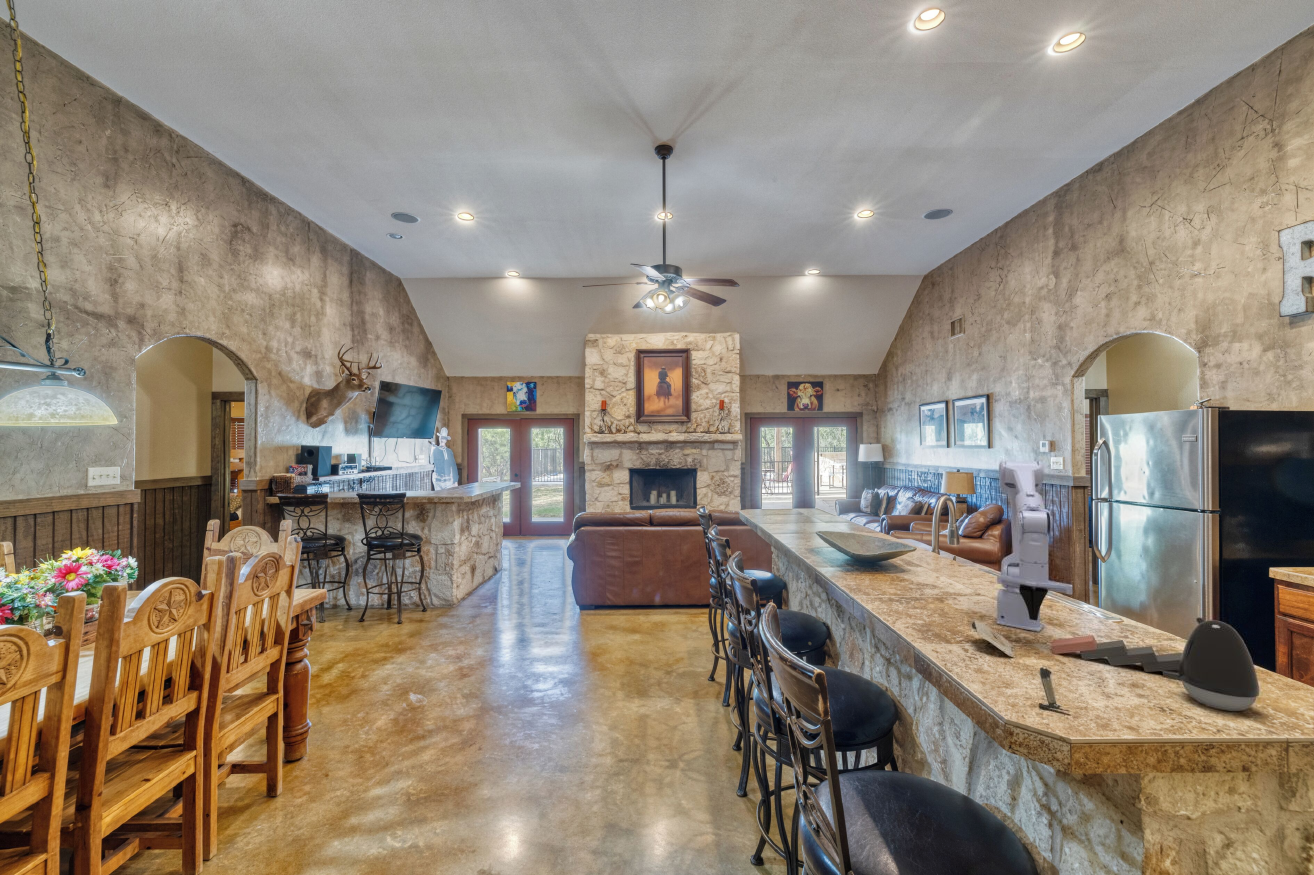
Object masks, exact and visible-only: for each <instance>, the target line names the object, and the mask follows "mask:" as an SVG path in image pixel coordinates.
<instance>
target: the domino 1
mask: <svg viewBox="0 0 1314 875" xmlns="http://www.w3.org/2000/svg"><path fill="white" fill-rule="evenodd" d="M1127 649H1128V647H1127V646H1126V644H1125V642H1124V640H1123V639H1119V640H1110V641H1105V642H1104V641H1103V642H1098V643H1097V648H1096V649H1095V650H1086V651H1078V652H1079V654H1080V656H1081V658H1082V660H1083V661H1086V660H1093V659H1094V660H1095V659H1101V658H1102V659H1103V658H1107V657H1112V656H1120V655H1128V654H1127Z"/></svg>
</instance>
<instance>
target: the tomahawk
mask: <svg viewBox="0 0 1314 875" xmlns="http://www.w3.org/2000/svg"><path fill="white" fill-rule="evenodd" d="M1039 672H1040V679H1041V683H1042V686H1043V689H1044V693H1045V695H1046V696H1045V698H1046V700H1047V702H1048V704H1044V703H1042V702H1039V703H1038V708H1039V709H1040V710H1044V711H1049V712H1054V713H1056V714H1060V715H1064V716H1065V715H1066V716H1072V714H1070V710H1069V709H1063V708H1061V707H1062V705H1060V704H1058V703H1057V699H1056V696H1055V691H1054V687H1053V683H1052V680H1051V674H1052V671H1051V670H1050V669H1049V668H1046V667H1045V668H1044V666H1042V667H1040V668H1039ZM1067 712H1069V713H1067Z"/></svg>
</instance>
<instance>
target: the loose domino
mask: <svg viewBox="0 0 1314 875" xmlns="http://www.w3.org/2000/svg"><path fill="white" fill-rule="evenodd" d="M1050 648H1051V650H1052V653H1053V654H1054V655H1057V654H1067V653H1076V652H1079V651H1086V650H1095V649H1096V648H1097V640H1096V639H1095V636H1094V634H1093V635H1086V636H1085V635H1084V636H1082V635H1081V636H1076V637H1075V636H1074V637H1068V638H1060V639H1052V641H1051V643H1050Z"/></svg>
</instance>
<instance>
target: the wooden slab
mask: <svg viewBox="0 0 1314 875" xmlns="http://www.w3.org/2000/svg"><path fill="white" fill-rule="evenodd" d="M971 628H972V629H973V630H975V631H976V633H978V635H979V636H980V637H982V638H983V639H984V640H986V641H988V642H987V643H986V644H985V645H984V646H985V648H986V647H987V646H989V645H993V646H995V647H996V648H998V649H999V650H1001V652H1004V653H1005V654H1006V655H1007V656H1008V657H1011V658H1013V659H1014V658H1016V656H1015V652H1014V649H1013V647H1014V646H1013V645H1012V644H1011V643H1010V642H1009V641H1008V639H1006V638H1005V637H1004V636H1003V635H1002V634H999V633H998V632H997V631H995V630H994V629H993V628H991V627H989V626H988V625H986V624H985V623H983V622H978V621H976V620H973V621H972V623H971Z"/></svg>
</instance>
